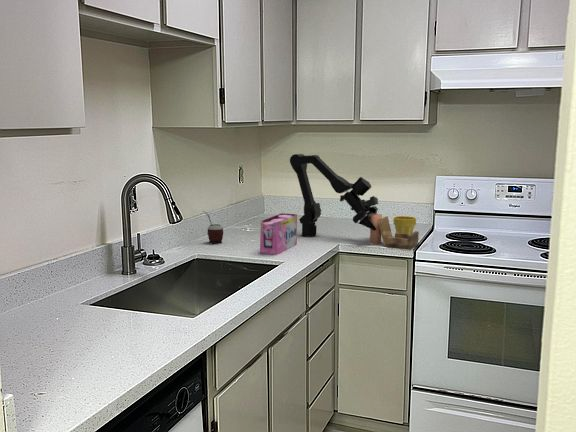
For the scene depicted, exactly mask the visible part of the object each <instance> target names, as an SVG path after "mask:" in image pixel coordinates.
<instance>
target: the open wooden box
mask: <svg viewBox="0 0 576 432" xmlns="http://www.w3.org/2000/svg"><path fill="white" fill-rule="evenodd" d="M419 234H420V233H419V231H416V230H415V231H413V233H412V234H404V233H396V232H395V233H394V237H393V236H392V237H387V246H386V247H387V248H390V249H398V250H399V249H401V250H408V251H410V250H413V249H414V248H415V247H417V246H418V245H419Z"/></svg>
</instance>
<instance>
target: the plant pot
mask: <svg viewBox="0 0 576 432" xmlns="http://www.w3.org/2000/svg"><path fill="white" fill-rule="evenodd" d="M393 225H394V228H395V233H404V234H412V233H413V232H414V230H415V227H416V225H417V218H416V217H415V216H407V215H397V216H393Z"/></svg>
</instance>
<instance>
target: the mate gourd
mask: <svg viewBox="0 0 576 432" xmlns="http://www.w3.org/2000/svg"><path fill="white" fill-rule="evenodd" d="M202 212H203V213H205V214H206V217H207V218H208V221H209V223H210V225H208V227H207V237H208V240H209V241H208V244H209V243H210V244H212V245H215V244H223V239H224V238H223V236H224V227H223V226H222V225H221V224H217V223H215V224H214V223H212V220H211V216H210V215H209V213H208V212H206V211H205V210H203V211H202Z"/></svg>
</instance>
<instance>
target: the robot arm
mask: <svg viewBox="0 0 576 432" xmlns="http://www.w3.org/2000/svg"><path fill="white" fill-rule="evenodd" d="M289 164H290V166H291V168H292V169H293V171H294V172H295V174H296V176H297V180H298V183H299V187H300V191H301V195H302V198H303V199H302V200H303V202H304V204H303V215H302V216H301V217H300V218H299V223H300V224H301V236H302V237H316V235H317V225H316V222H318V219H319V218H320V217H321V215H322V209H321V205H320V202H316V200H315V198H314V195H313V192H312V187H311V183H310V181H309V176H308V172H307V168H308V165H309V164H311V165H312V166H313V167H314V168H316V170H317V171H318V172H320V174H322V175H323V176H324V177H325V179H326V180H328V182H329V183H330V185H331V188H332V190H334V192H335V193H336V194H342V195H340V196H339V198H340V199H339V202H344V201H345V202H346V203H347V204H348V206H350V210H351V211H354V212H355V215H354V216H353V217H352V222H354V224H359V225H361V226H363V227H366V228H368V229H369V230H370V229H372V230H374V231H375V230H376V228H375V226H374V225H373V223H372V222H371V214H378V210H379V208H378V207H377V206H376V205H378V204H379V199H378V198H377V196H375V195H373V196H370V197H369V199H367V200H365V199H361V197H360V196H364V195H365V194H366V193H367V192H368V191H370V190H371V189H372V184H371V183H370V182H369V181H368V180H367V179H365V178H364V177H362V176H360V177H358V179H357V180H356V181H355V182H354V183H352V182H349V181H348V180H346V178H344V177H342V176H340V175H338V174H337V173H336V172H335V171H334V170H333V169H332V168H330V166H329V165H327V164H326V162H325V161H324V160H323V159H321V157H320V156H319V155H318V154H311V155H305V154H304V153H295V154H292V155H291V156H290V157H289ZM343 193H344V194H343Z"/></svg>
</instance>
